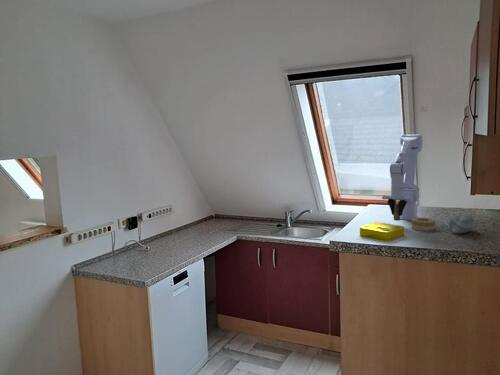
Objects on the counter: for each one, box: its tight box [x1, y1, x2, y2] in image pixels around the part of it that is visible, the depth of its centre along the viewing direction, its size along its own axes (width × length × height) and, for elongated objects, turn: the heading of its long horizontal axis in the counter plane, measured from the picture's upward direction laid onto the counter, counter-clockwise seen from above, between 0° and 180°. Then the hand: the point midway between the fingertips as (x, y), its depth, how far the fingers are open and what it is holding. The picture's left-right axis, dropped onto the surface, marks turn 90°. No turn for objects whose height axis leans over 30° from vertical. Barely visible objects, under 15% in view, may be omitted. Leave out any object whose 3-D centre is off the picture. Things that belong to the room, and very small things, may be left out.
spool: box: [448, 213, 475, 235], centre depth 186 cm, size 14×10×10 cm
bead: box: [410, 217, 436, 232], centre depth 195 cm, size 10×10×4 cm
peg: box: [393, 202, 401, 221], centre depth 201 cm, size 3×3×8 cm
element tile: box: [359, 221, 405, 242], centre depth 184 cm, size 15×15×5 cm
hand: (396, 215), depth 201 cm, fingers closed on peg, 3 cm apart
